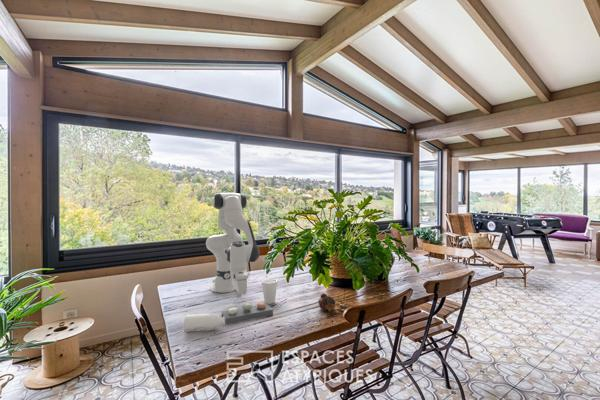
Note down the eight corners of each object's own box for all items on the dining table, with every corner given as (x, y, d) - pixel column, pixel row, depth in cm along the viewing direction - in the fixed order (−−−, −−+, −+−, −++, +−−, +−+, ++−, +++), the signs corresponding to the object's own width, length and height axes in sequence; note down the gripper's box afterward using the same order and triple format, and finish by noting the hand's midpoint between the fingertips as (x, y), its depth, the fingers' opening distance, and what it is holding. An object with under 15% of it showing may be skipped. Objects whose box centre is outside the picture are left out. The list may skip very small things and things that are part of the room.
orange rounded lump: (256, 311, 160) (256, 303, 160) (264, 309, 162) (263, 301, 162) (258, 314, 156) (258, 305, 156) (266, 312, 158) (266, 304, 158)
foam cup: (260, 300, 179) (260, 279, 179) (274, 298, 182) (274, 278, 182) (264, 305, 170) (264, 284, 170) (279, 303, 174) (278, 282, 173)
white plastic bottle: (223, 333, 137) (223, 316, 137) (183, 335, 135) (182, 318, 135) (226, 325, 145) (226, 310, 145) (188, 327, 143) (187, 311, 143)
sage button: (242, 312, 157) (242, 303, 157) (250, 310, 159) (250, 302, 159) (244, 315, 153) (244, 306, 153) (252, 313, 155) (252, 305, 155)
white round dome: (227, 316, 154) (227, 308, 153) (236, 315, 156) (236, 306, 155) (229, 320, 149) (229, 311, 149) (238, 318, 151) (238, 309, 151)
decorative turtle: (328, 303, 172) (328, 291, 172) (340, 315, 158) (341, 301, 157) (313, 305, 169) (314, 292, 168) (324, 317, 154) (325, 303, 154)
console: (221, 317, 155) (221, 311, 155) (266, 308, 166) (266, 303, 166) (225, 324, 146) (225, 318, 146) (272, 314, 157) (272, 309, 157)
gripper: (228, 268, 162) (229, 292, 162) (236, 277, 143) (236, 305, 143) (240, 267, 164) (240, 290, 165) (248, 276, 146) (249, 303, 146)
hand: (238, 297), depth 154 cm, fingers closed
